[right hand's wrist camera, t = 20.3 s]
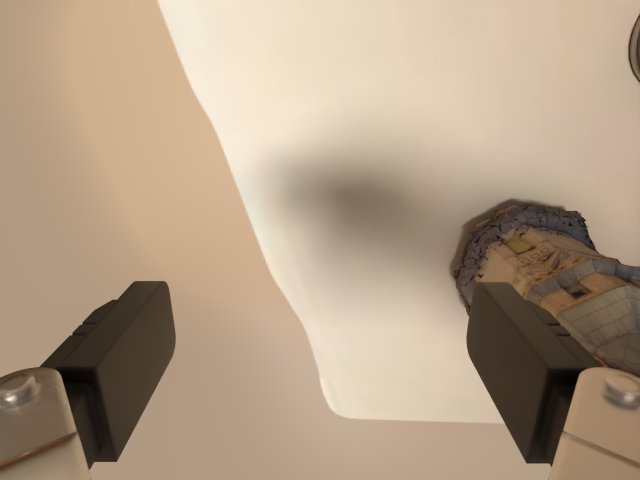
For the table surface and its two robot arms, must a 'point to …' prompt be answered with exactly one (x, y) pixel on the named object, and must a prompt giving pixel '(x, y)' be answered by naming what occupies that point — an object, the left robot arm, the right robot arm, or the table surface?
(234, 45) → the table surface
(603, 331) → the miniature building
